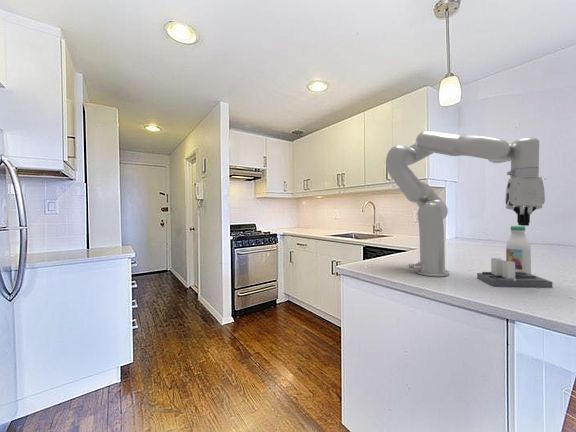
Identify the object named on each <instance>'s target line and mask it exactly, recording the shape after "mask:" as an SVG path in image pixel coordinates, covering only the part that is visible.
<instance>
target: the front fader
mask: <svg viewBox="0 0 576 432" xmlns="http://www.w3.org/2000/svg"><path fill="white" fill-rule="evenodd" d="M502 277H504V278H506V279H513V278H515V263H514V262H513V261H506V260H504V261H502Z"/></svg>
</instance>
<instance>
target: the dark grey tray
mask: <svg viewBox="0 0 576 432" xmlns="http://www.w3.org/2000/svg"><path fill="white" fill-rule="evenodd" d="M476 276H477V277H476V278H477V279H479V280H480V281H483V282H484V283H486V284H488V285H490V286H491V287H498V288H501V287H502V288H503V287H504V288H507V287H508V288H549V289H550V288H553V281H551V280H548V279H545V278H543V277H540V276H536V275H534V274H532V273H531V274H527V273H526V272H515V278H513V279H506V278H504V277H502V275H494V274H492V273H491V271H481V272H477V273H476Z"/></svg>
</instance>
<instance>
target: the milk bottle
mask: <svg viewBox="0 0 576 432" xmlns="http://www.w3.org/2000/svg"><path fill="white" fill-rule="evenodd" d="M510 232H511V234H510V237H509V238H508V240H507V243H506V247H505V248H506V249H505V253H506V254H505V257H506V259H505V261H513V262H514V263H515V272H526V273H527V274H532V250H531V244H530V242H529V240H528V239H527V237H526V234H525V233H526V226H522V225H511V226H510Z"/></svg>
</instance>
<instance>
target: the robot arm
mask: <svg viewBox="0 0 576 432" xmlns="http://www.w3.org/2000/svg"><path fill="white" fill-rule="evenodd" d="M432 154H440V155H445V156H450V157H458V156H459V157H460V156H465V157H466V156H467V157H473V158H479V159H484V160H488V162H491V163H493V164H502V163H506V162H510V170H509V171H507V172H506V175H507V176H509V177H510V178H508V181H507V185H506V190H505V199H504V200H505V204H506V206H505V209H506V210H512V211H513V212H515V215H517V218H516V219H517V220H516V221H517V226H525V227H526V226H527V227H529V226H530V222H531V215H532V214H533V213H534V211H536V210H540V209H542V208H543V206H544V204H545V201H546V195H545V185H544V181H543V178H542V176H540V141H539V139H538V138H536V137H526V138H521V139H516V140H514V141H512V142H507V141H506V140H504V139H501V138H494V137H488V136H481V135H466V134H455V133H449V132H448V133H447V132H443V131H434V130H423V131H421V132H419V134H417V136H416V139H415V143H413V144H411V145H409V146H408V145H403V144H395V145H394V146H393V147H391V148H390V150H389V151H388V152H387V154H386V158H385V167H386V170H387V172H388V173H387V174H388V175H389V176H390V178H391V179H392V180H393V181H394V183H395V184H396V185H397V187H398V188H399V189H400V191H401V192H402V194H404V196H405V198H406V199H407V200H408V201H409V202H411V203H414V204H415V203H416V205H417V206H418V210H417V220H418V221H417V222H418V232H419V234H418V235H419V236H418V237H419V261H417V263H408V269H414V270H416V274H419V275H422V276H426V277H433V278H434V277H436V278H437V277H439V278H440V277H447V276H450V271H449V270H448V269H446V257H445V256H446V255H445V254H446V252H445V226H444V219H445V218H446V217H447V216H448V213H449V211H448V209H449V208H448V207H447V205H446V203H445V202H444V201H443V200H442V199H441V197H440V196H439V195H438V194H437V192H436V191H435V190H434V189H433V188H432V186H431V185H429V184H428V183H426V182H422V181H421V180H420V179H419V178H418V177H417V176H416V175H415V172H414V171H412V169H411V168H410V167H409V166H411V165H414V164H416V163H417V162H420V161H421V160H424V159H425V158H428V157H429V156H430V155H432Z"/></svg>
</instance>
